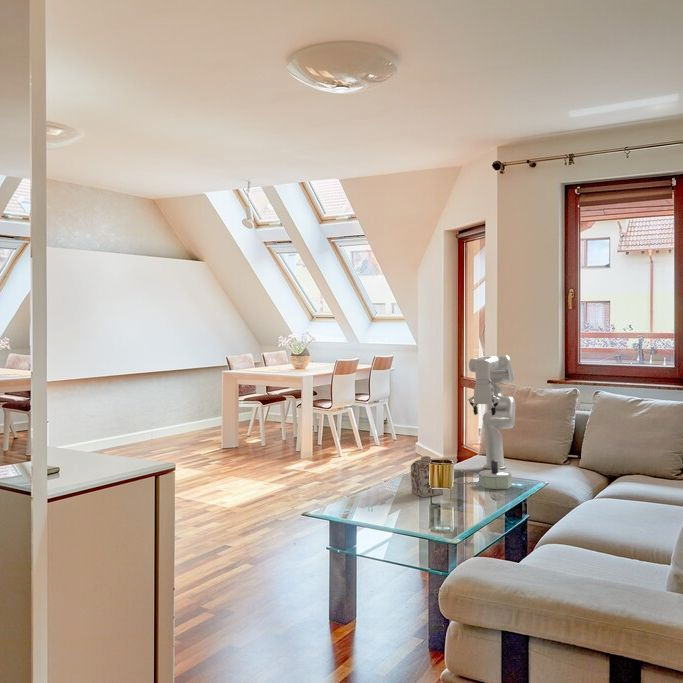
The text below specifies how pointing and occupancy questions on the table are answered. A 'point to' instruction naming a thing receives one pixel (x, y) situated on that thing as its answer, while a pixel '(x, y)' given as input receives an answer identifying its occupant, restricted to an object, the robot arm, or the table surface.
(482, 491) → the table surface
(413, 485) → the decorative jar
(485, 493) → the table surface
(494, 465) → the lid
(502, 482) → the bowl
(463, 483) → the mat
